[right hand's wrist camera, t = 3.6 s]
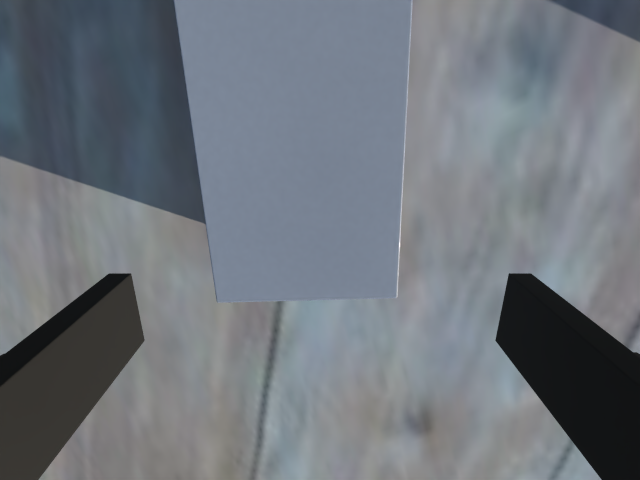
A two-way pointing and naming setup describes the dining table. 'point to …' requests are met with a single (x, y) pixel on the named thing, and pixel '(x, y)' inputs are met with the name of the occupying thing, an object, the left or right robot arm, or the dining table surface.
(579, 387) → the right robot arm
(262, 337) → the dining table surface
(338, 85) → the cabinet
